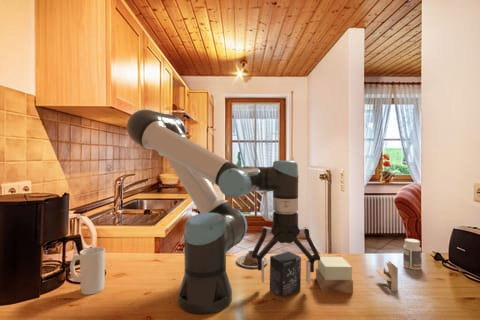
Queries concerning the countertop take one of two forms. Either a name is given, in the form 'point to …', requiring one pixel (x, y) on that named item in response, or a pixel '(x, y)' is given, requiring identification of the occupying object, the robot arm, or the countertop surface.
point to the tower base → (334, 284)
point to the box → (285, 274)
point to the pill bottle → (412, 254)
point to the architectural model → (390, 275)
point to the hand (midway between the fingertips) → (285, 281)
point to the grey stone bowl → (249, 260)
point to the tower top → (335, 268)
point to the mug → (90, 269)
